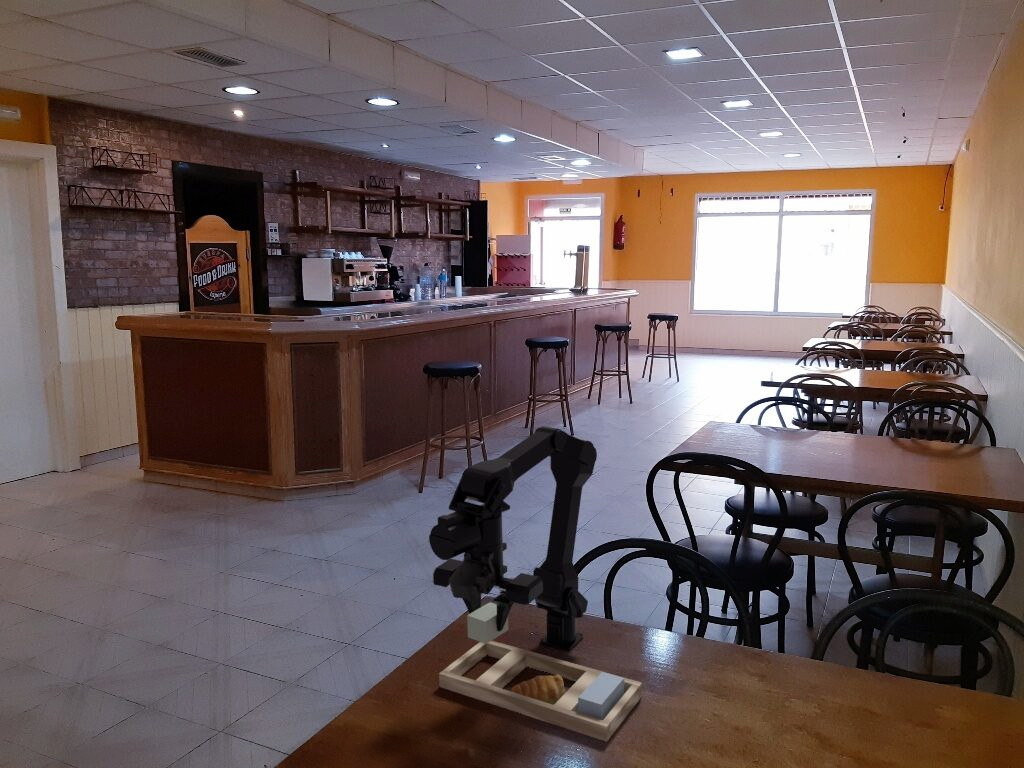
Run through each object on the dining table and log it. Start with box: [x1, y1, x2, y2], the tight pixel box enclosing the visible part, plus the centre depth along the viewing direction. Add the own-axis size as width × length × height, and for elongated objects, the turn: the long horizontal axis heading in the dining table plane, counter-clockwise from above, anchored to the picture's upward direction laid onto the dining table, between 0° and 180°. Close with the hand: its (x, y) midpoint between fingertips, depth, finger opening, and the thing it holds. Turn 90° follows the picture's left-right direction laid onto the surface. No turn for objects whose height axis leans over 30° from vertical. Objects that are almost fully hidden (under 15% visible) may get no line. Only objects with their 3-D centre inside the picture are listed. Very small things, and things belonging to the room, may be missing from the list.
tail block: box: [466, 601, 509, 644], centre depth 133 cm, size 6×4×4 cm, turn 142°
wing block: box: [578, 671, 625, 720], centre depth 127 cm, size 9×4×4 cm, turn 149°
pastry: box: [510, 674, 567, 705], centre depth 131 cm, size 9×7×4 cm
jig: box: [438, 640, 643, 743], centre depth 133 cm, size 14×31×2 cm, turn 59°
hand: (488, 627), depth 134 cm, fingers closed on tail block, 4 cm apart
